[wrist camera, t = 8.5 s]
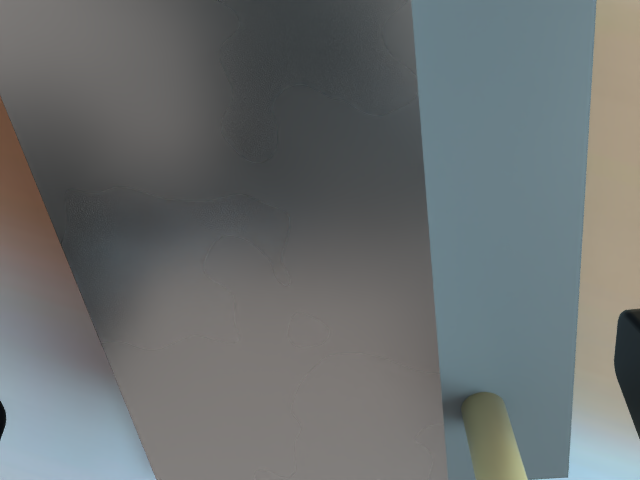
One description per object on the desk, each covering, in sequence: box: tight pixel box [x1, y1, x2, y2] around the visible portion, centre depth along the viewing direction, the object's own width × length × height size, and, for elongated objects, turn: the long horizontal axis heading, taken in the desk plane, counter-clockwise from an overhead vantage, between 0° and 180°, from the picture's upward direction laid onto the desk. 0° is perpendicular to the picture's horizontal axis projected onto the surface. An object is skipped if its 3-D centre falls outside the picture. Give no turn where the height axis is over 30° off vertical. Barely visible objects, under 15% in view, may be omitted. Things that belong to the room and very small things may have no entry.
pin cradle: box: [411, 0, 596, 480], centre depth 13 cm, size 20×12×5 cm, turn 9°
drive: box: [0, 0, 448, 480], centre depth 11 cm, size 16×4×7 cm, turn 9°
